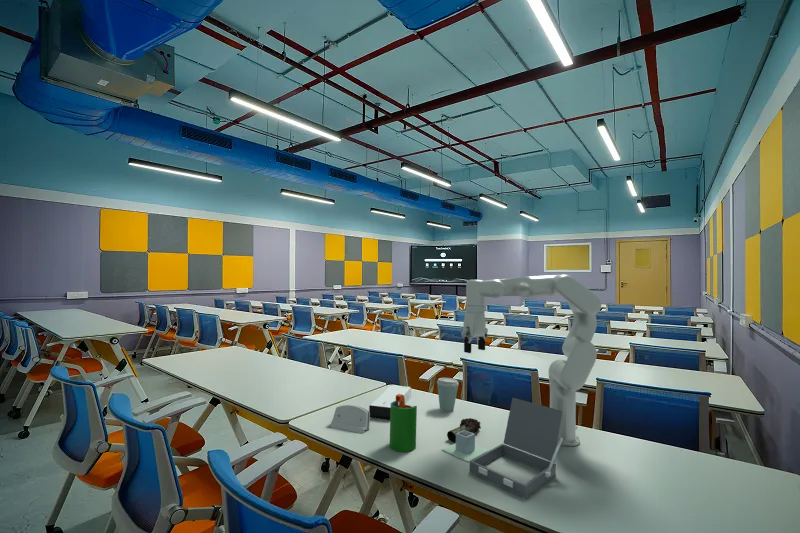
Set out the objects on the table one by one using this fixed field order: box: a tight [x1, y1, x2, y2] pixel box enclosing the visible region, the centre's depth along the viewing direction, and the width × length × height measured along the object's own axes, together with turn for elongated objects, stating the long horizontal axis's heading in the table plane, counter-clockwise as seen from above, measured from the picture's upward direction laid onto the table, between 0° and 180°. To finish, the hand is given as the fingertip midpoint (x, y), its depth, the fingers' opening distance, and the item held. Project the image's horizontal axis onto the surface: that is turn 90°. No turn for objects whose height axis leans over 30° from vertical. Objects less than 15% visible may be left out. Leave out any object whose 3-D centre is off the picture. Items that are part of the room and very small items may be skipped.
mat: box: [441, 442, 488, 464], centre depth 138 cm, size 12×12×1 cm
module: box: [455, 430, 476, 454], centre depth 138 cm, size 5×5×6 cm
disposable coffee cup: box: [436, 377, 459, 413], centre depth 181 cm, size 11×11×15 cm
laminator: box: [368, 384, 412, 421], centre depth 184 cm, size 34×12×6 cm, turn 165°
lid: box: [503, 397, 563, 464], centre depth 132 cm, size 17×19×1 cm
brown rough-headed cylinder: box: [446, 417, 482, 444], centre depth 152 cm, size 18×7×6 cm, turn 133°
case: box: [469, 438, 563, 499], centre depth 124 cm, size 24×21×12 cm
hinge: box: [329, 404, 371, 434], centre depth 158 cm, size 17×5×10 cm, turn 69°
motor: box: [389, 394, 418, 453], centre depth 141 cm, size 10×9×20 cm
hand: (474, 351), depth 153 cm, fingers open, 9 cm apart
